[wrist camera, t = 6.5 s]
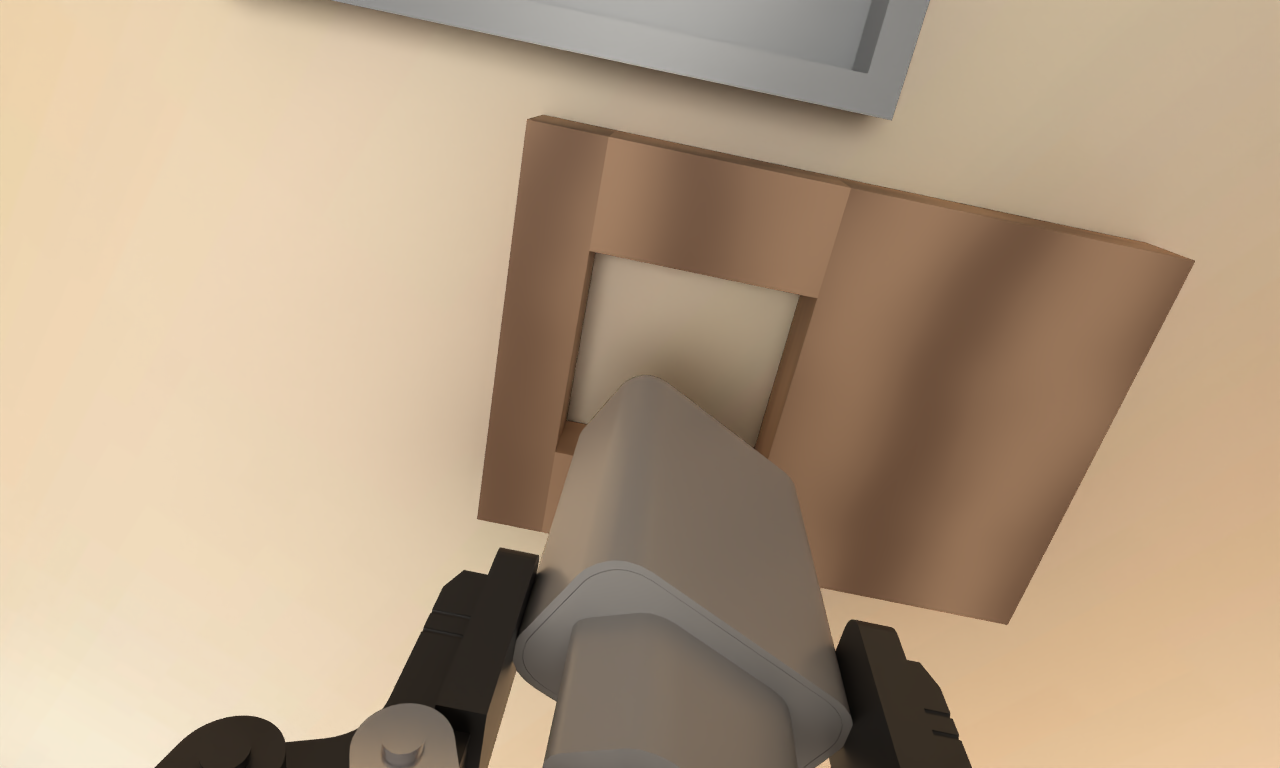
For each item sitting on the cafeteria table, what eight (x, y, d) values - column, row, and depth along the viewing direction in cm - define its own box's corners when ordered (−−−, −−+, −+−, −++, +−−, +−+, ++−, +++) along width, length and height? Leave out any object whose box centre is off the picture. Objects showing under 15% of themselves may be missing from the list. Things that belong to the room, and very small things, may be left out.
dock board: (1145, 242, 24) (1195, 260, 21) (982, 581, 29) (1007, 624, 27) (543, 114, 23) (526, 119, 21) (494, 483, 29) (477, 518, 26)
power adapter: (641, 362, 17) (549, 878, 6) (808, 490, 18) (982, 1122, 7) (564, 449, 18) (372, 1021, 7) (727, 566, 19) (771, 1215, 8)
